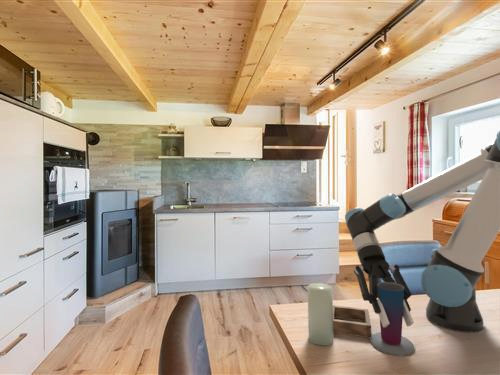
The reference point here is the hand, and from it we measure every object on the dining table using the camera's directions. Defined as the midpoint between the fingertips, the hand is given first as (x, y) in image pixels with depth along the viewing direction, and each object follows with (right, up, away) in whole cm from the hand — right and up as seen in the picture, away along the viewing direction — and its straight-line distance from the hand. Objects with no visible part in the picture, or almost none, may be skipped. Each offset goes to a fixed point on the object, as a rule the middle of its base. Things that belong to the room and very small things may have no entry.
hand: (398, 324), depth 76 cm
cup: (0, -6, +4) cm, 7 cm away
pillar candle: (-19, -7, +7) cm, 21 cm away
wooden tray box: (-8, -7, +15) cm, 18 cm away
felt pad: (0, -7, +4) cm, 8 cm away
